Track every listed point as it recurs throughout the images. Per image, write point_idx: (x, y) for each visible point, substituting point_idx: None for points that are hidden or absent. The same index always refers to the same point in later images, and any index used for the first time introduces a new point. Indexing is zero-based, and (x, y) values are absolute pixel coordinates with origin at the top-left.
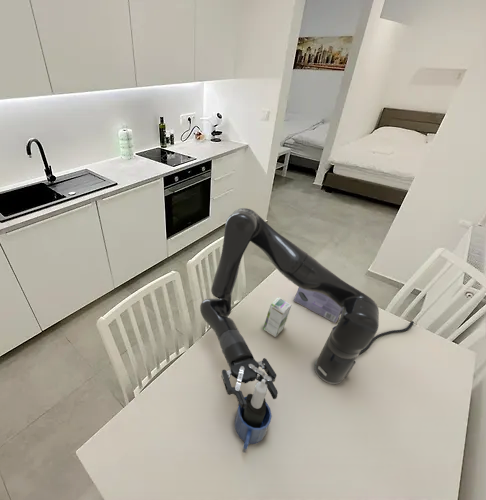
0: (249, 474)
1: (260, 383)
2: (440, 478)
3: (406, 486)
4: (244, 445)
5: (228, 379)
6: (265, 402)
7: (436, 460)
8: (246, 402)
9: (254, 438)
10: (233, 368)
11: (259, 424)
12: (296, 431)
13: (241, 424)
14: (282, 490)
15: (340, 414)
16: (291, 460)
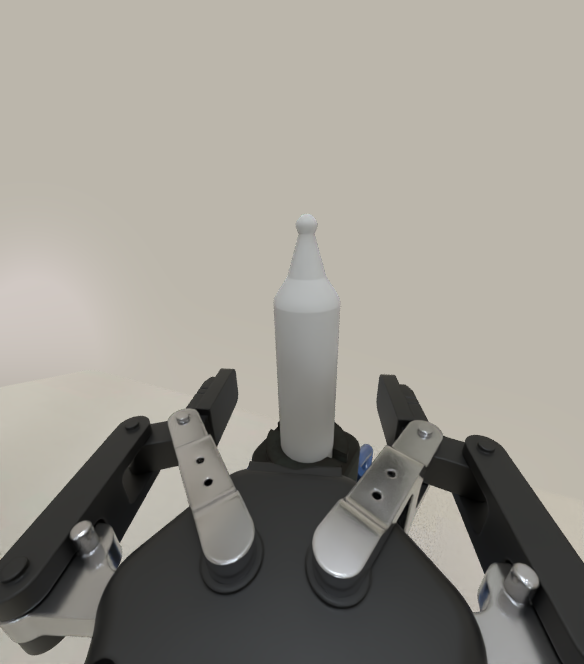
0: None
1: (319, 256)
2: (74, 378)
3: (122, 384)
4: (371, 462)
5: (512, 512)
6: (262, 442)
7: (43, 388)
8: (348, 471)
9: None
10: (450, 641)
11: None
12: (181, 502)
13: None
14: None
15: (35, 492)
16: (249, 458)
